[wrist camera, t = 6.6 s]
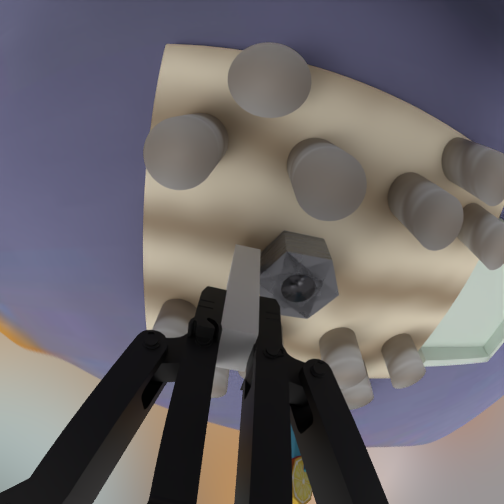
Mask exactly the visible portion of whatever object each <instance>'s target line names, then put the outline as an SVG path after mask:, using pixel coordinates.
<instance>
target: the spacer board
mask: <svg viewBox="0 0 504 504" xmlns="http://www.w3.org/2000/svg"><path fill="white" fill-rule="evenodd" d="M143 156H144V162H145V165H146V178H145V194H144V218H143V274H144V297H145V313H146V326H147V330H156V331H159V332H161V333H162V334H164V335H165V337H166V338H175V337H181V336H184V335H185V334H187V333H188V323H189V321H190V320H191V319H192V318H193V317H194V316H195V313H196V309H197V306H198V302H199V299H200V295H201V292H202V291H203V290H204V289H205V288H206V287H207V286H210V287H215V288H220V289H224V290H226V287H227V282H228V277H229V273H230V268H231V263H232V259H233V254H234V250H235V245H236V244H237V245H242V246H247V247H251V248H256V249H261V252H262V251H263V250H264V249H265V248H266V247H267V246H268V245H269V244H270V243H271V242H272V241H273V240H274V239H275V238H276V237H277V236H279V235H280V234H281V233H282V232H283V231H284V230H285V231H290V232H295V233H299V234H304V235H309V236H314V237H318V238H323V239H324V240H325V242H326V245H327V247H328V250H329V253H330V255H331V258H332V261H333V266H334V271H335V276H336V281H337V286H338V292H339V296H337V297H336V298H335V299H334V300H332V301H331V302H330V303H328V304H327V305H326V306H324V307H323V308H322V309H320V310H319V311H318V312H316V313H315V314H314V315H312V316H311V317H309V318H308V319H304V318H297V317H290V316H283V315H281V329H282V344H283V347H284V348H285V349H286V352H287V353H288V354H289V355H290V356H291V357H293V358H295V359H297V360H300V361H302V362H306V361H308V360H310V359H320V360H323V361H324V362H326V363H327V364H328V365H329V366H330V368H331V369H332V371H333V374H334V376H335V378H336V380H337V383H338V385H339V387H340V389H341V392H342V394H343V396H344V398H345V401H346V403H347V405H348V407H349V410H351V409H357V408H360V407H363V406H365V405H367V404H368V403H370V402H371V401H372V400H373V398H374V396H373V392H372V388H371V384H370V380H369V378H390V379H391V382H392V385H393V387H394V388H396V389H401V388H405V387H408V386H411V385H413V384H414V383H416V382H418V381H419V380H420V379H421V378H422V377H423V376H424V374H425V372H426V370H425V367H424V365H423V362H422V360H421V358H420V355H419V353H418V350H419V349H420V348H421V347H422V345H423V344H424V343H425V342H426V340H427V339H428V338H429V336H430V335H431V334H432V333H433V331H434V330H435V329H436V327H437V326H438V324H439V323H440V322H441V320H442V319H443V317H444V316H445V315H446V313H447V312H448V310H449V309H450V307H451V306H452V304H453V303H454V301H455V300H456V298H457V297H458V295H459V293H460V292H461V290H462V289H463V287H464V285H465V284H466V282H467V280H468V279H469V277H470V275H471V273H472V272H473V270H474V268H475V266H476V264H477V262H478V261H479V260H480V261H481V262H482V263H483V264H484V265H485V266H486V267H487V268H488V269H489V270H496V269H498V268H499V267H501V266H502V265H503V264H504V223H503V222H502V221H501V220H499V216H500V214H501V211H502V209H503V206H504V154H503V153H501V152H499V151H496V150H494V149H491V148H489V147H486V146H483V145H481V144H478V143H475V142H472V141H471V140H469V139H468V138H467V137H465V136H464V135H462V134H461V133H459V132H458V131H456V130H454V129H453V128H451V127H450V126H448V125H446V124H445V123H443V122H441V121H440V120H438V119H436V118H435V117H433V116H431V115H429V114H428V113H426V112H424V111H422V110H420V109H418V108H416V107H415V106H413V105H411V104H409V103H407V102H405V101H403V100H401V99H399V98H396V97H394V96H392V95H390V94H388V93H386V92H383V91H381V90H379V89H376V88H374V87H372V86H369V85H367V84H364V83H362V82H359V81H356V80H354V79H351V78H348V77H346V76H343V75H340V74H337V73H334V72H331V71H328V70H325V69H321V68H318V67H315V66H311V65H308V64H307V63H306V62H305V60H304V59H303V58H302V56H301V55H299V54H298V53H297V52H296V51H295V50H293V49H291V48H290V47H287V46H285V45H282V44H278V43H268V42H267V43H259V44H255V45H252V46H250V47H248V48H246V49H245V50H236V49H229V48H221V47H211V46H199V45H181V44H166V46H165V50H164V54H163V59H162V63H161V68H160V73H159V78H158V84H157V89H156V95H155V101H154V107H153V114H152V121H151V128H150V133H149V134H148V136H147V138H146V141H145V144H144V149H143ZM261 252H260V253H261ZM259 296H260V295H259ZM238 372H239V374H240V376H241V377H242V378H244V379H245V376H246V369H245V372H242V371H238ZM228 377H229V369H225V368H220V367H216V368H215V374H214V381H213V387H212V394H211V398H218V397H222V396H224V395H225V394H226V392H227V385H228Z"/></svg>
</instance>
